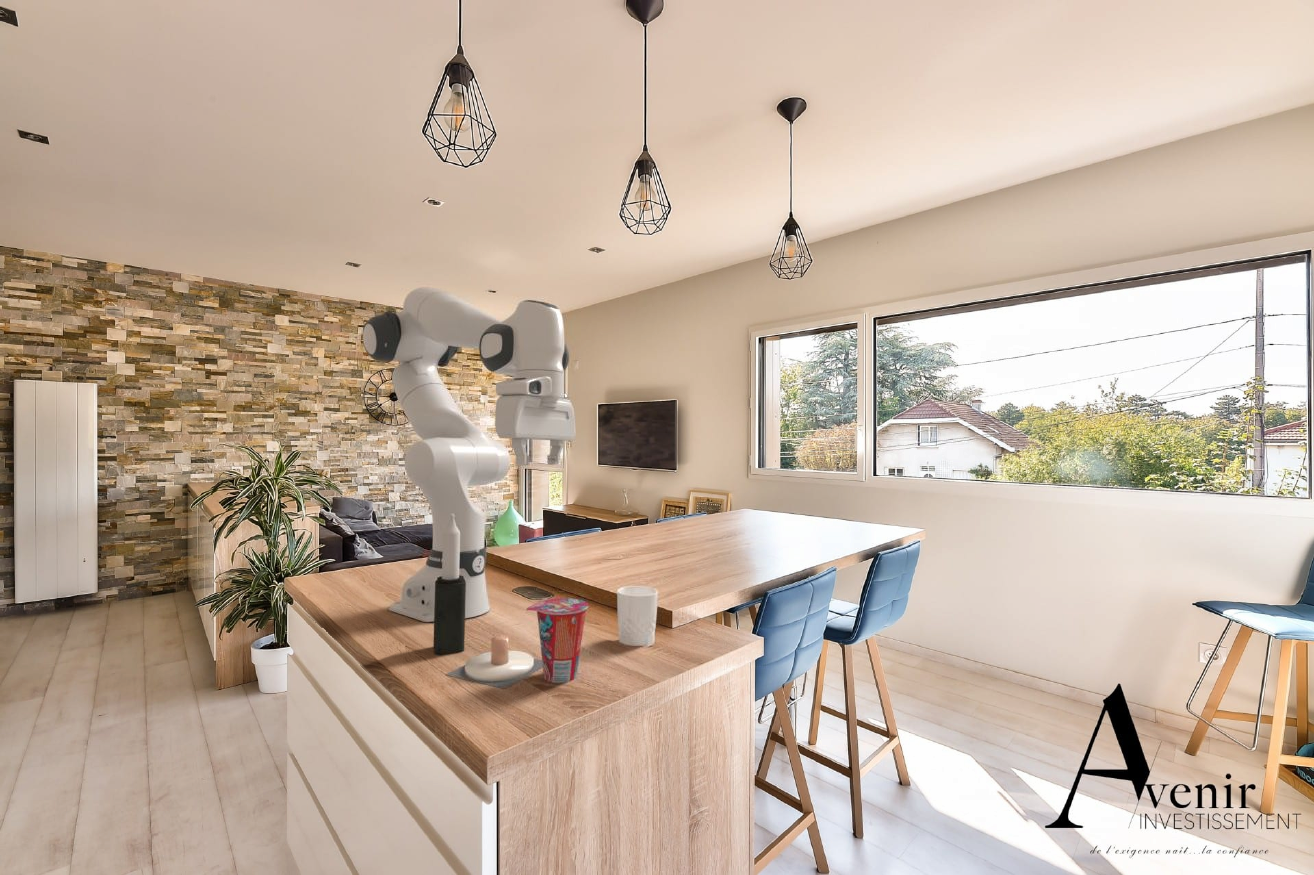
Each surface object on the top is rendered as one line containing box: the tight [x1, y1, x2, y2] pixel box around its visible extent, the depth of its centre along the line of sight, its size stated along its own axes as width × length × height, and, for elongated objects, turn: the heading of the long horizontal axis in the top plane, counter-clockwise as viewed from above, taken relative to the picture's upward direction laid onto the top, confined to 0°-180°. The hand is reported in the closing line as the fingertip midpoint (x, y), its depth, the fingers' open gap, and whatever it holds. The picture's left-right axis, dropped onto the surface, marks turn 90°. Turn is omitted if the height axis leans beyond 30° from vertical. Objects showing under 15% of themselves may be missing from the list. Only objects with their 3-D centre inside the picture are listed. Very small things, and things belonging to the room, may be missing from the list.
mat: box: [445, 658, 543, 690], centre depth 94 cm, size 12×12×1 cm
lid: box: [464, 634, 535, 682], centre depth 94 cm, size 11×11×5 cm
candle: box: [432, 514, 466, 656], centre depth 103 cm, size 5×5×25 cm
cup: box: [525, 597, 589, 684], centre depth 91 cm, size 9×8×12 cm
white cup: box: [616, 585, 659, 648], centre depth 110 cm, size 8×8×10 cm
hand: (538, 465), depth 103 cm, fingers open, 8 cm apart
